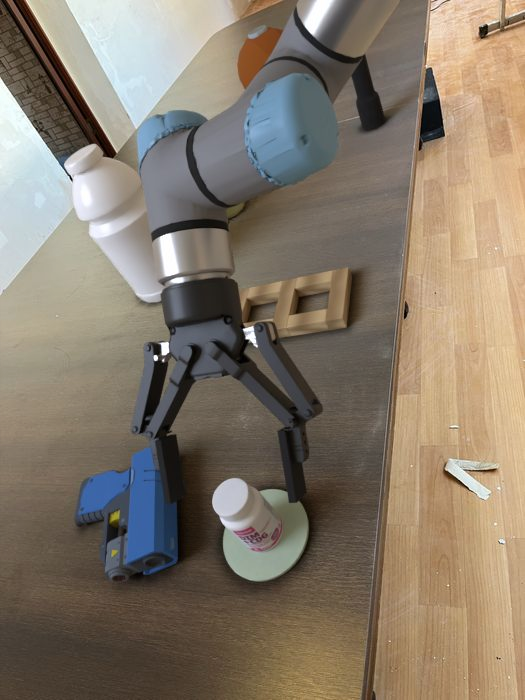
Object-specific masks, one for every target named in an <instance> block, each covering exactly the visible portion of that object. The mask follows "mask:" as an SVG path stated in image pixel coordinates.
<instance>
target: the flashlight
mask: <svg viewBox="0 0 525 700" xmlns="http://www.w3.org/2000/svg"><path fill="white" fill-rule="evenodd" d="M350 78H351V80H352V85H353V88H354V90H355V94H356V101H355V105H356V106H355V107H356V110H357V114H358V117H359V120H360V121H359V122H360V123H361V128H362V130H364V131H372V130H375V129H378V128H380V127H381V126H382V125H384V124H385V121H386V117H385V113H384V108H383V105H382V102H381V98H380V95H379V92H377V91H376V90H375V87H374V83H373V80H372V76H371V71H370V67H369V64H368V60H367V56H366V53H365V54H364V56H363V58H362V60H361V61H360V63H359V65H358V66H357V68H356V69H355V71H354V72H353V74H352V75H351V77H350Z"/></svg>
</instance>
